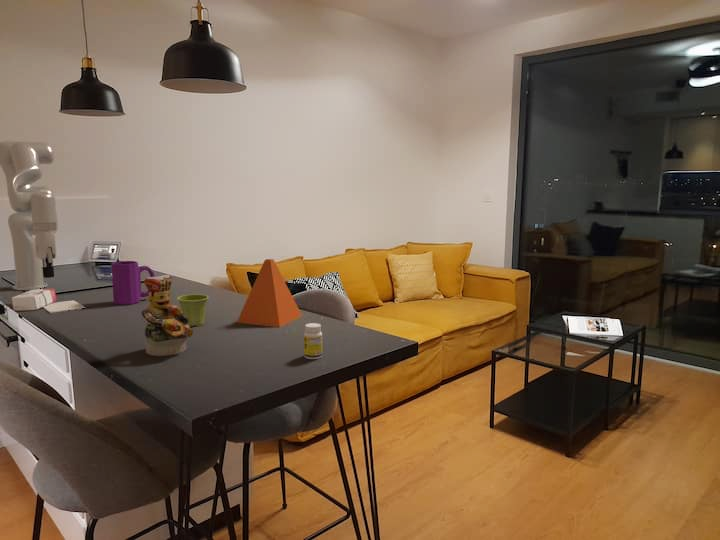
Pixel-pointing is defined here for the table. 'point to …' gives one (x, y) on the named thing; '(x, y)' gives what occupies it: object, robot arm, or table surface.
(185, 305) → the plant pot
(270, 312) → the pyramid
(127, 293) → the mug
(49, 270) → the robot arm
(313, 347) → the supplement bottle
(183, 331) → the figurine
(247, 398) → the table surface
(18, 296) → the ink box
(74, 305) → the mat
